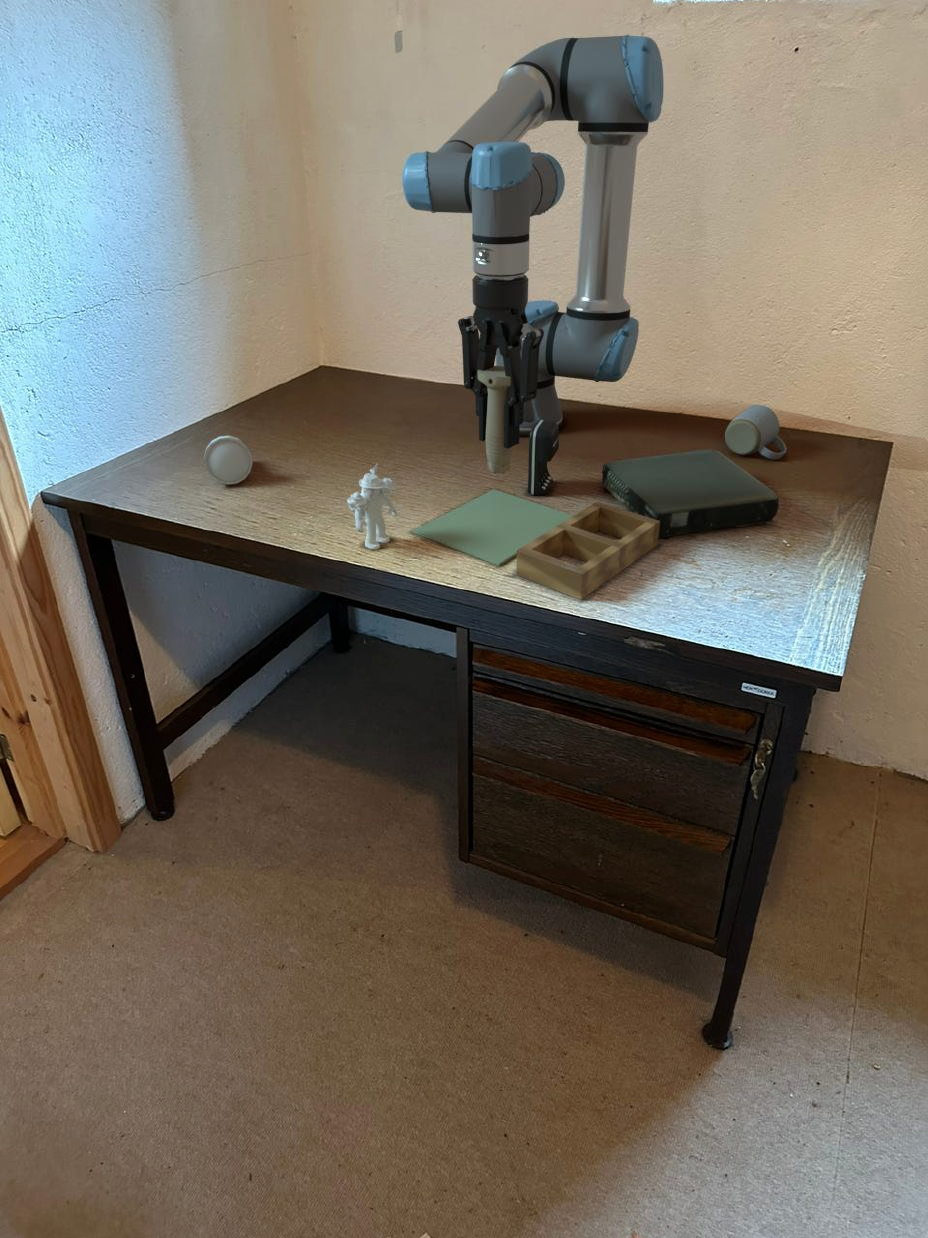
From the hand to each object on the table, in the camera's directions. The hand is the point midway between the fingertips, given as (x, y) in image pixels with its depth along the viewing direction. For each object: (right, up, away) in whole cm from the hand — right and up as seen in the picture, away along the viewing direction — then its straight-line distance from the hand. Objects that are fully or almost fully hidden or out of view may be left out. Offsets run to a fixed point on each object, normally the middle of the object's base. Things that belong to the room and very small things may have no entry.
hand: (499, 441), depth 127 cm
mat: (0, -12, +8) cm, 14 cm away
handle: (0, -4, +3) cm, 5 cm away
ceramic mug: (+49, +5, +32) cm, 59 cm away
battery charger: (+8, -4, +20) cm, 22 cm away
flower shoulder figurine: (-18, -15, +4) cm, 24 cm away
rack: (+13, -18, -2) cm, 22 cm away
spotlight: (-47, -1, +26) cm, 54 cm away
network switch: (+31, -8, +13) cm, 35 cm away
